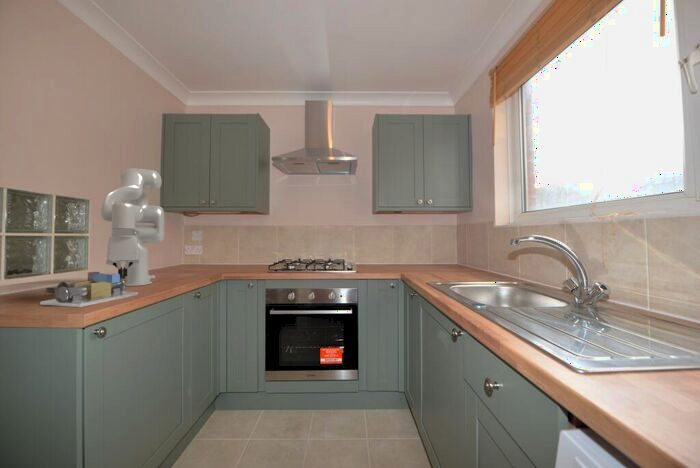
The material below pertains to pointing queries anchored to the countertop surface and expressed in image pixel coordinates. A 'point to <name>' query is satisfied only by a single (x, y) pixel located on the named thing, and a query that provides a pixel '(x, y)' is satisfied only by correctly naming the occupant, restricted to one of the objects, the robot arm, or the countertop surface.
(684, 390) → the countertop surface
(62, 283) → the valve
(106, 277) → the lever
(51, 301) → the pipe valve
